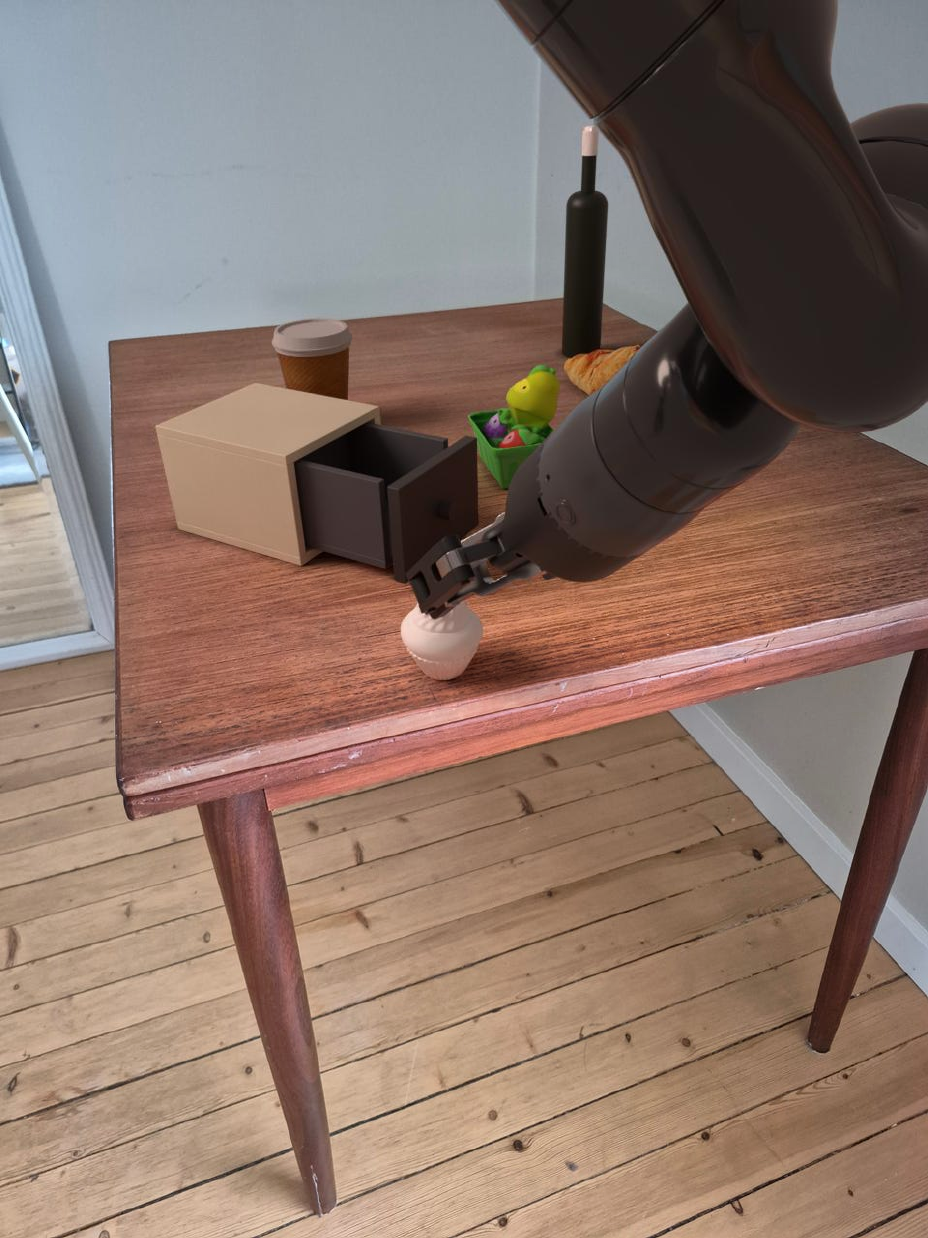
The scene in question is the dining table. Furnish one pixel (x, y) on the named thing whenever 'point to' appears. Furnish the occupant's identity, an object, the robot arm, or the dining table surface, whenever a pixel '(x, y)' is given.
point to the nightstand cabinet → (251, 464)
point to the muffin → (442, 640)
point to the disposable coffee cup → (314, 356)
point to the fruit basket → (517, 424)
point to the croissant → (597, 367)
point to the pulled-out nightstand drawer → (387, 495)
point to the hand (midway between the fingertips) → (488, 584)
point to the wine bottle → (584, 257)
